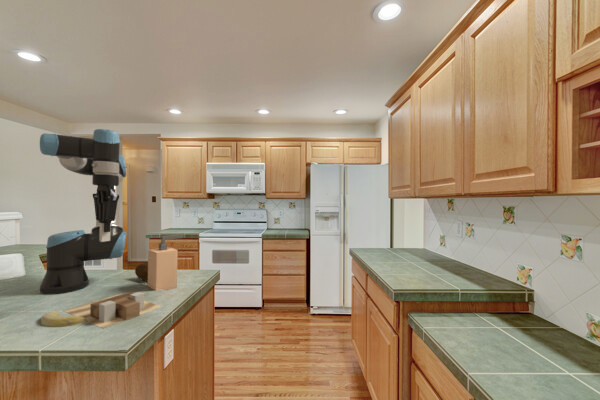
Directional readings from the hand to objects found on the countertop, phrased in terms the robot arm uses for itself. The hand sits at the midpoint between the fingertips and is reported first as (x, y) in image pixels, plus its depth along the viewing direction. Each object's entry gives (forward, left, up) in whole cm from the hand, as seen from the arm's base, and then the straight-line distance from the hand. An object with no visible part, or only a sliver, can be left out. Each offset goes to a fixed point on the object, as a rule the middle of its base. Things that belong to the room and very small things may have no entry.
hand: (104, 240), depth 94 cm
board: (+9, -1, -23) cm, 24 cm away
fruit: (+5, -13, -23) cm, 27 cm away
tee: (+15, -2, -22) cm, 27 cm away
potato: (-14, +26, -23) cm, 37 cm away
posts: (+16, -2, -22) cm, 27 cm away
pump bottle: (+2, +24, -23) cm, 33 cm away
